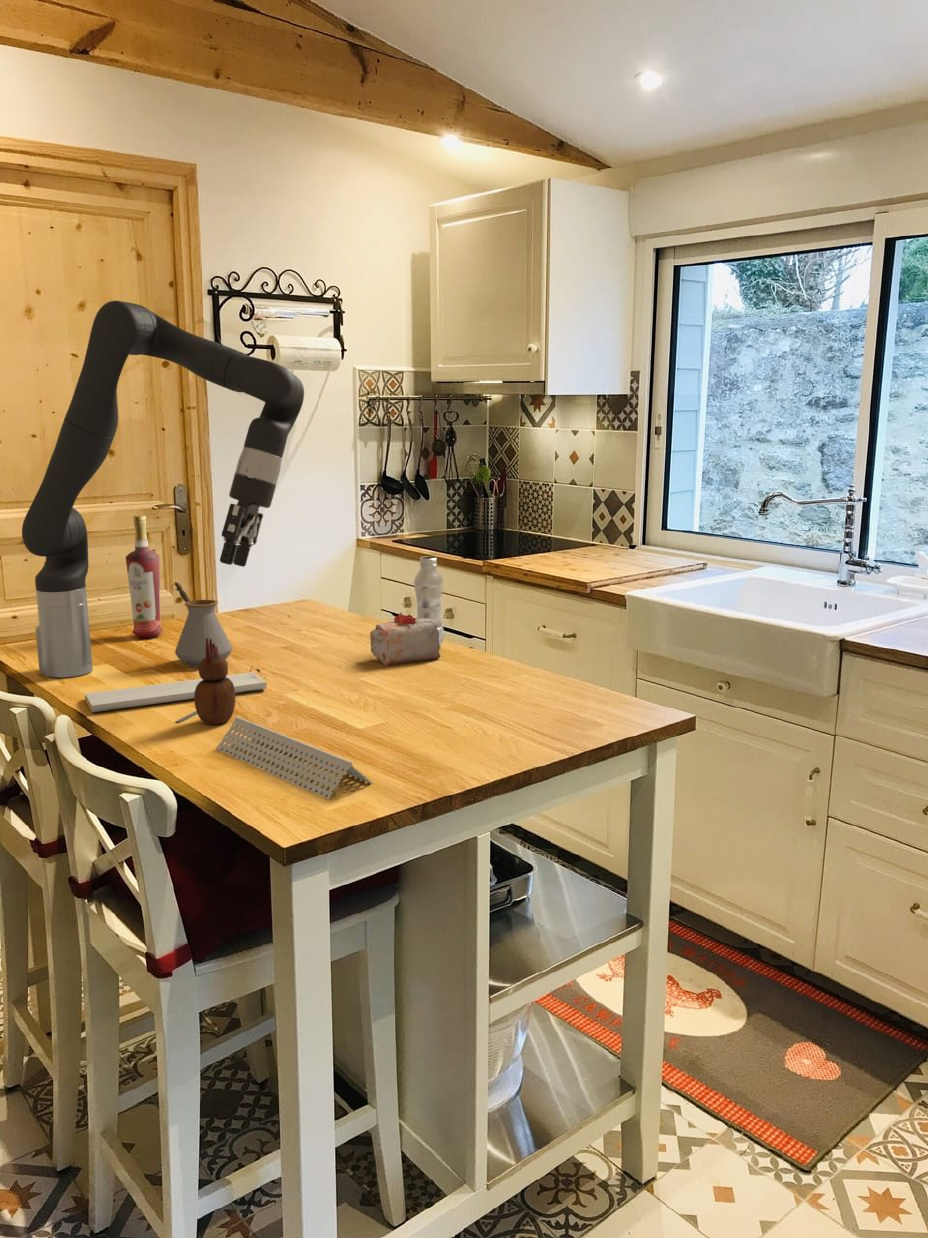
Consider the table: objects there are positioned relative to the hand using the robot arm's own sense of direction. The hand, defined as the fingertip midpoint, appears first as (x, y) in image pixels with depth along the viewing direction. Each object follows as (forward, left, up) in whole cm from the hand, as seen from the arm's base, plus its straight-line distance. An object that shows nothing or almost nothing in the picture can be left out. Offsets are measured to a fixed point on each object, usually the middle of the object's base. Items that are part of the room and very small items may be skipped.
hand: (232, 564), depth 179 cm
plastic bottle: (+20, +46, -25) cm, 56 cm away
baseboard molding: (-12, -3, -25) cm, 27 cm away
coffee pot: (-24, +22, -25) cm, 41 cm away
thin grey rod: (-2, -8, -25) cm, 26 cm away
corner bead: (+26, -30, -25) cm, 47 cm away
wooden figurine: (+4, -15, -25) cm, 29 cm away
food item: (+19, +34, -25) cm, 47 cm away
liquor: (-46, +36, -25) cm, 63 cm away
